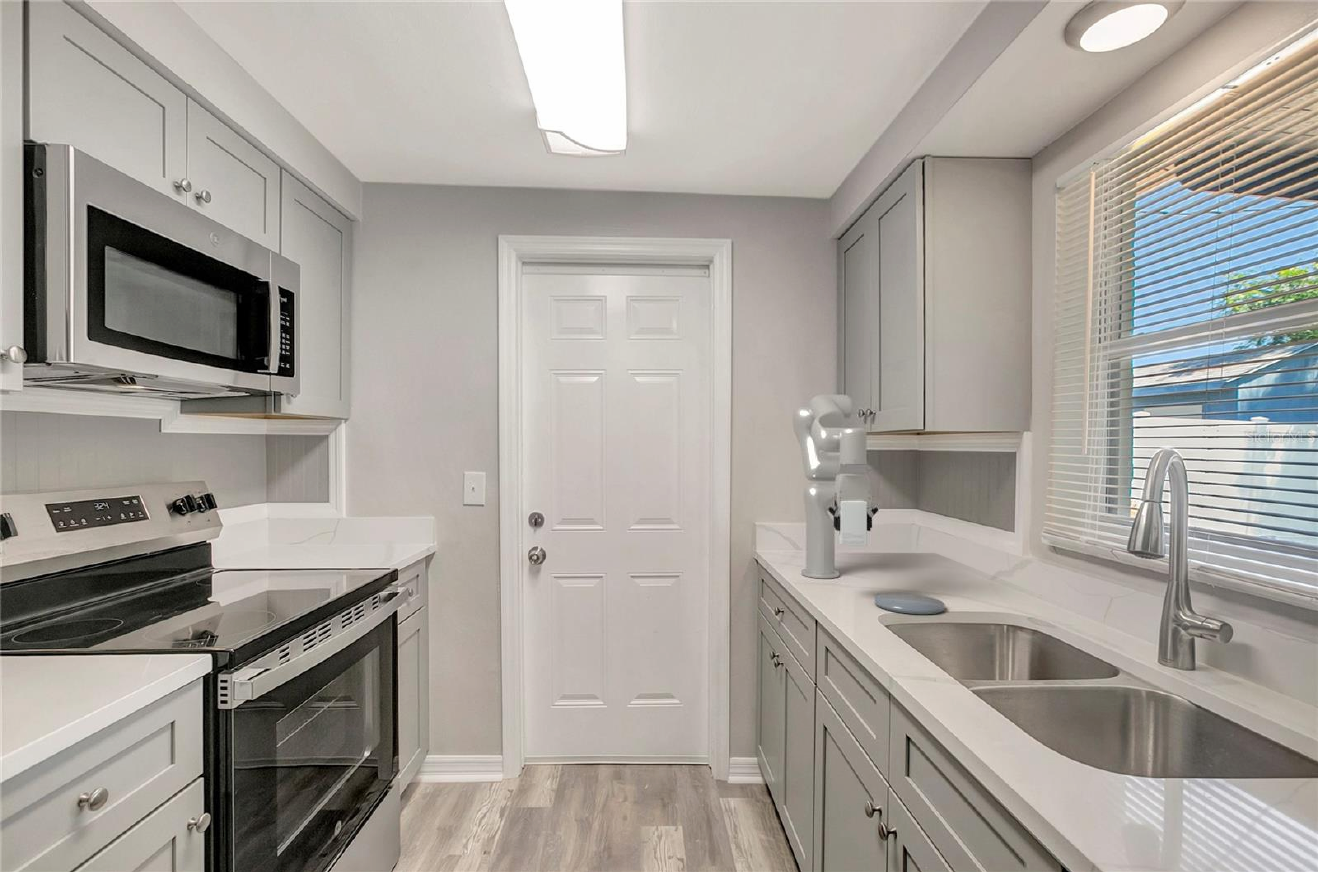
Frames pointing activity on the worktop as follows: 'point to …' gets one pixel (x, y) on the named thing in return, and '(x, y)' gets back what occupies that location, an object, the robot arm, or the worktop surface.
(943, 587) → the worktop surface
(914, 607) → the slate dish
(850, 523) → the supplement box
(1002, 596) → the worktop surface
